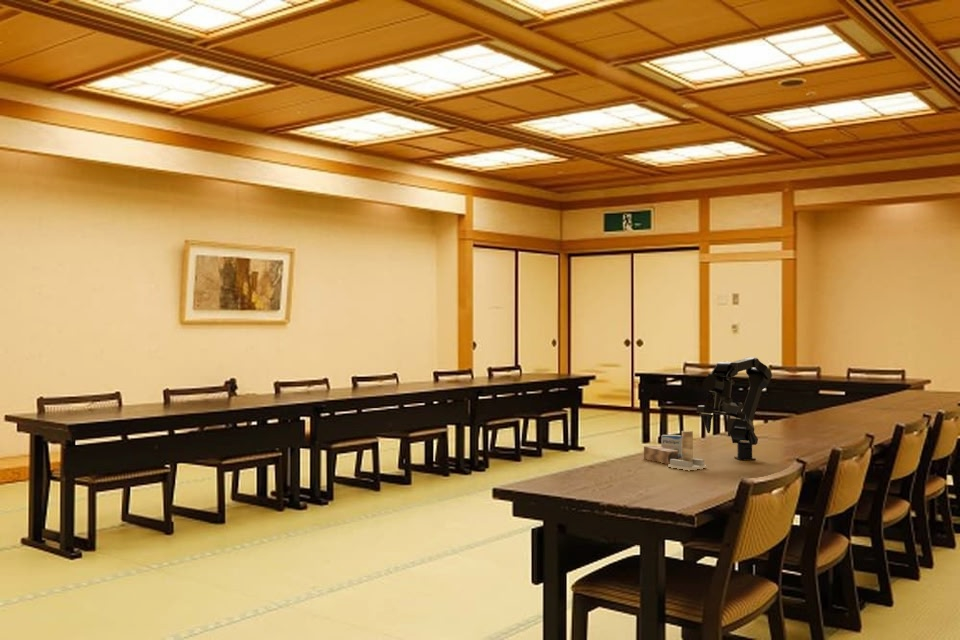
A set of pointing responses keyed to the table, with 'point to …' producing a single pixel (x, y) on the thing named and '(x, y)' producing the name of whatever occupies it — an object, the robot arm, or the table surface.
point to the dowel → (687, 446)
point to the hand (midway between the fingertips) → (718, 434)
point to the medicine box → (672, 443)
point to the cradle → (687, 464)
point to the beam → (660, 454)
